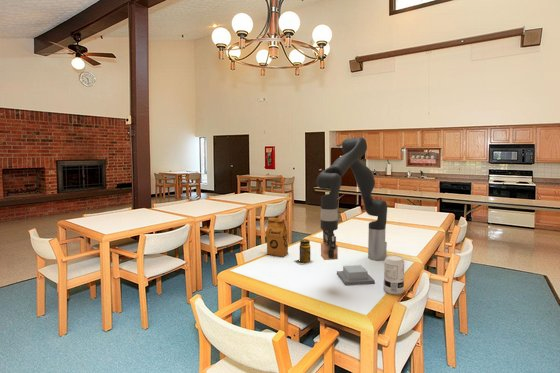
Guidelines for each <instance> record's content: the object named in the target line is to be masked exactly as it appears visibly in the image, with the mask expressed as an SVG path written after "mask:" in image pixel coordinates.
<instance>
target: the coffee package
mask: <svg viewBox="0 0 560 373" xmlns="http://www.w3.org/2000/svg"><path fill="white" fill-rule="evenodd" d="M266 226H267V227H266V232H265V234H266V254H268V255H273V256H276V257H277V256H278V257H281V258H282V257H283V258H284V257H285V256H287V255H289V239H288V231H287V225H286V221H285V219H284V218H276V217H268V218H267V225H266Z"/></svg>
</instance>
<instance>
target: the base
mask: <svg viewBox="0 0 560 373" xmlns="http://www.w3.org/2000/svg"><path fill="white" fill-rule="evenodd" d="M342 266H343V267H342V270H336V275H337V276H338V278H339V279H340V280H341V282H342V283H343V284H344V286H357V285H361V286H362V285H375V283H376V282H375V280H374V278H373V277H372V276H371V275H370V274H369V272H368V270H366V268H365V267H363V265H361V264H358V265H357V264H356V265H342Z"/></svg>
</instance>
